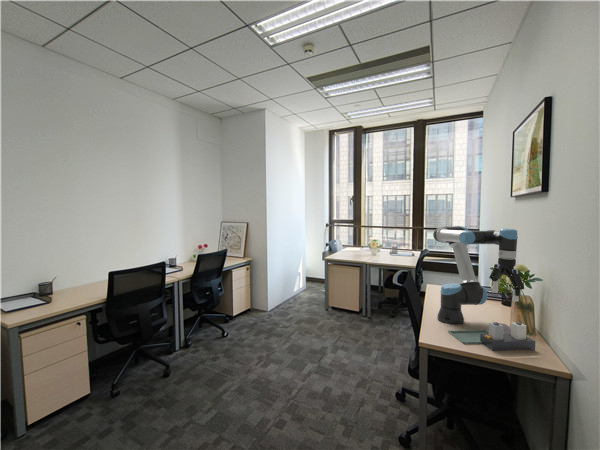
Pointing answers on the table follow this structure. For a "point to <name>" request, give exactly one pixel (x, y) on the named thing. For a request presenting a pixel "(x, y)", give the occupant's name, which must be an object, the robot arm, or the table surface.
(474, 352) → the table surface
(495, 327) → the twin plug
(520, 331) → the plug
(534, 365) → the table surface
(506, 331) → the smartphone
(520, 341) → the strip
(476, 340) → the tray
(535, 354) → the table surface
